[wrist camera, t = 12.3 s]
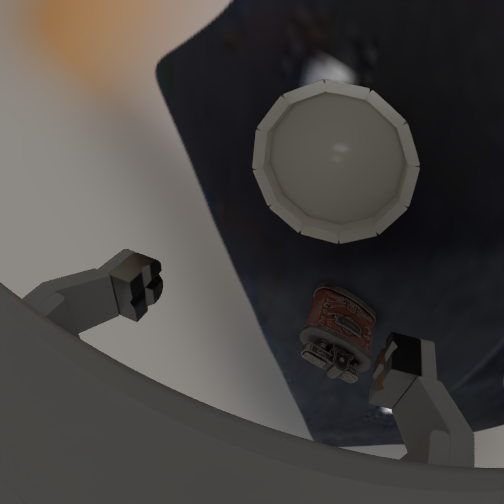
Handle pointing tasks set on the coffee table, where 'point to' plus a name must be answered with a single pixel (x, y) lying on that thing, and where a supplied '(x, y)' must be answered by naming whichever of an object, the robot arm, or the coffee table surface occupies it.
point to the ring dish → (335, 161)
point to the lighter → (338, 333)
